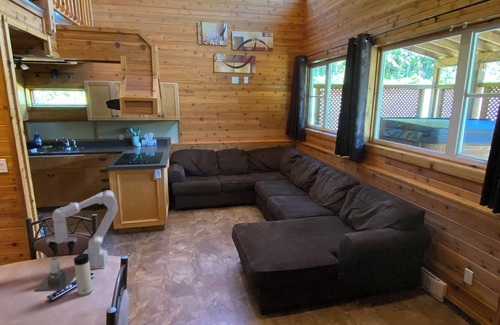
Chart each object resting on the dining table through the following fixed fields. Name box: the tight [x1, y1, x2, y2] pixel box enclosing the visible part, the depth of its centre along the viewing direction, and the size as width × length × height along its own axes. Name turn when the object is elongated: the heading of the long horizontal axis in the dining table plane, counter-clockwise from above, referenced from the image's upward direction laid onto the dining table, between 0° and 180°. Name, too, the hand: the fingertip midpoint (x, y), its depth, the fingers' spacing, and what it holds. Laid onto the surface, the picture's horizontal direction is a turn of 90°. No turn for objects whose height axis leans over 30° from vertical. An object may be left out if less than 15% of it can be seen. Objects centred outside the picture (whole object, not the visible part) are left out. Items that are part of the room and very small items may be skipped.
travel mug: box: [73, 253, 93, 297], centre depth 148 cm, size 6×7×20 cm
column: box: [49, 256, 61, 275], centre depth 156 cm, size 3×3×10 cm
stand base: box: [34, 268, 76, 292], centre depth 157 cm, size 14×14×6 cm
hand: (63, 254), depth 165 cm, fingers open, 7 cm apart
